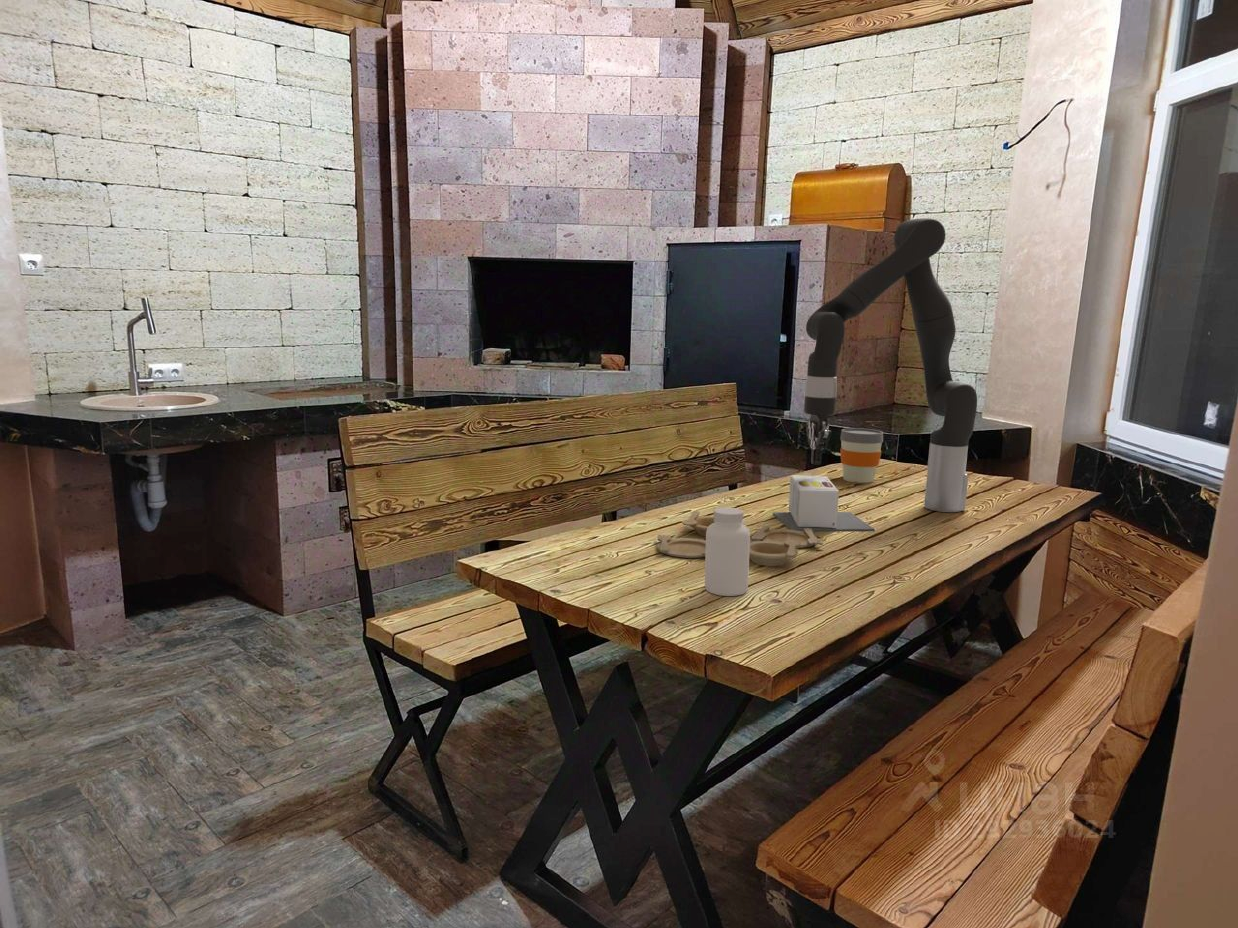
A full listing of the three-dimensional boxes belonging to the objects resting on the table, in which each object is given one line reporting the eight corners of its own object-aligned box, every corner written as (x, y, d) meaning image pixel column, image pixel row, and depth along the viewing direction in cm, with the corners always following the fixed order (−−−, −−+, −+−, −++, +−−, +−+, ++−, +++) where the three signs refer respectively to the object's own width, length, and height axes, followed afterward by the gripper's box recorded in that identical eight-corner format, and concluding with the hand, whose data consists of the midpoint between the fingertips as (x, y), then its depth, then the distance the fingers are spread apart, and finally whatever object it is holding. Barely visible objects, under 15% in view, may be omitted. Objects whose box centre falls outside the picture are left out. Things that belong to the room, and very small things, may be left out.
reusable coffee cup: (853, 473, 258) (856, 426, 255) (888, 480, 249) (892, 432, 246) (828, 478, 250) (832, 430, 247) (864, 485, 241) (868, 435, 238)
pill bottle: (700, 582, 154) (703, 505, 151) (742, 582, 154) (746, 505, 151) (708, 597, 146) (711, 516, 143) (752, 597, 146) (756, 516, 144)
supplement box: (827, 475, 206) (841, 490, 190) (825, 511, 208) (838, 529, 191) (789, 474, 207) (799, 489, 190) (787, 510, 208) (797, 527, 192)
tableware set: (827, 538, 186) (828, 521, 185) (813, 577, 159) (814, 557, 158) (678, 522, 197) (679, 506, 197) (642, 556, 170) (642, 537, 169)
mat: (849, 513, 208) (849, 512, 208) (874, 530, 192) (874, 529, 192) (772, 513, 206) (772, 512, 206) (791, 531, 190) (791, 529, 190)
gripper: (845, 398, 194) (839, 469, 197) (826, 392, 207) (822, 459, 210) (814, 397, 193) (809, 469, 197) (797, 391, 206) (793, 459, 209)
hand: (816, 464), depth 203 cm, fingers closed
